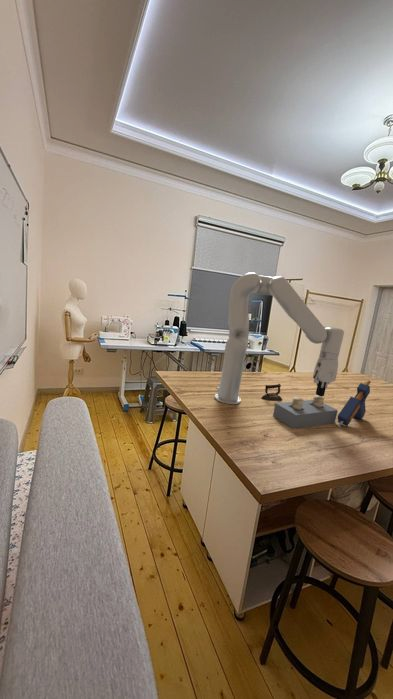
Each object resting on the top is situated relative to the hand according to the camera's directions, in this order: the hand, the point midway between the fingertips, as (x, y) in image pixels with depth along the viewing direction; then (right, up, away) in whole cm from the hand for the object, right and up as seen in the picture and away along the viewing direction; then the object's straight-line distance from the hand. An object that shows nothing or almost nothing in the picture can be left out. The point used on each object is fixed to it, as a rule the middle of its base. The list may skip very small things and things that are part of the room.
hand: (319, 395), depth 129 cm
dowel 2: (-1, -7, +1) cm, 7 cm away
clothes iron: (-17, -5, +20) cm, 27 cm away
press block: (-7, -11, -1) cm, 13 cm away
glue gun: (+16, -13, +4) cm, 21 cm away
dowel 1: (-12, -6, -5) cm, 15 cm away
